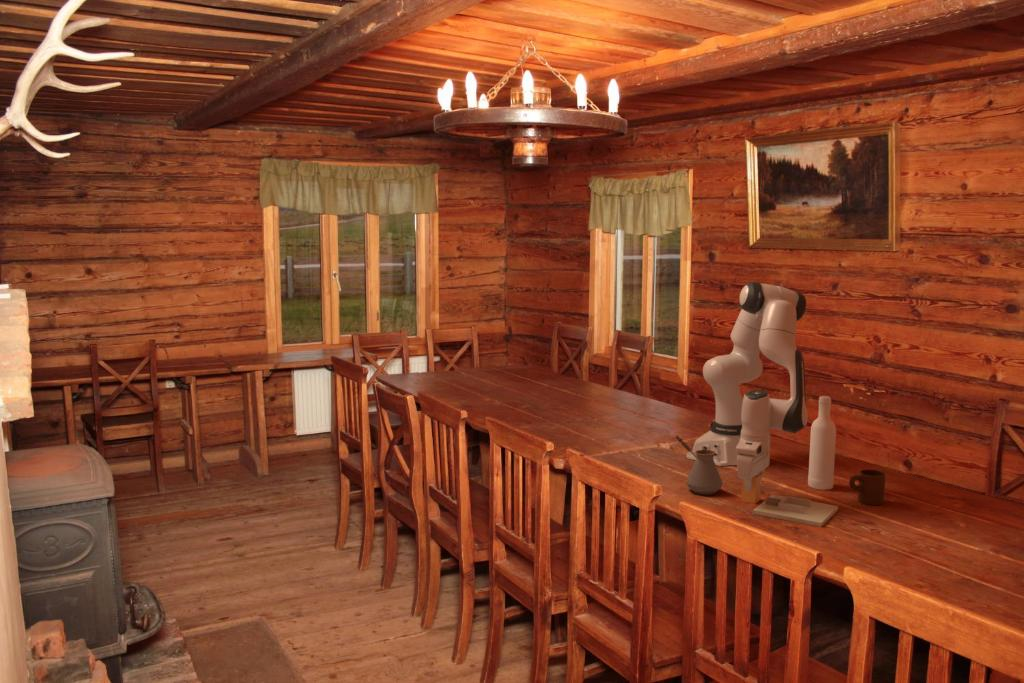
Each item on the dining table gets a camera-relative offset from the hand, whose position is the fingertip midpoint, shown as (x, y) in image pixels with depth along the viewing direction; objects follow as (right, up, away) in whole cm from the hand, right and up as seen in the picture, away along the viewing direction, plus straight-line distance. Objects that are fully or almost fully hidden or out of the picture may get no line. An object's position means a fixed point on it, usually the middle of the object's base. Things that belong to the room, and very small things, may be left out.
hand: (753, 486), depth 280 cm
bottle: (+26, -3, +15) cm, 30 cm away
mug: (+34, -5, -1) cm, 35 cm away
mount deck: (+10, -6, -10) cm, 15 cm away
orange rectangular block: (-1, -4, +1) cm, 5 cm away
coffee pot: (-16, -3, +15) cm, 21 cm away
